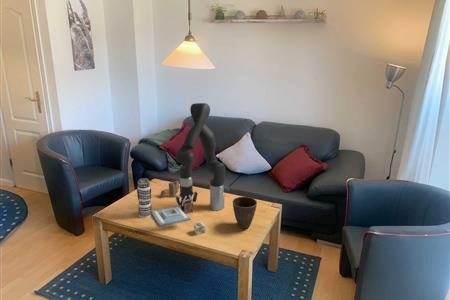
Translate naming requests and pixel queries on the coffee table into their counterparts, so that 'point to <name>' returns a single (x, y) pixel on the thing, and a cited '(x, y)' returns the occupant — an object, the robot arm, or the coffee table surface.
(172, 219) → the jig
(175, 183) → the wooden block set
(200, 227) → the block
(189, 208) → the block
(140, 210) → the grey stacked tower
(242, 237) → the coffee table surface
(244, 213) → the plant pot
